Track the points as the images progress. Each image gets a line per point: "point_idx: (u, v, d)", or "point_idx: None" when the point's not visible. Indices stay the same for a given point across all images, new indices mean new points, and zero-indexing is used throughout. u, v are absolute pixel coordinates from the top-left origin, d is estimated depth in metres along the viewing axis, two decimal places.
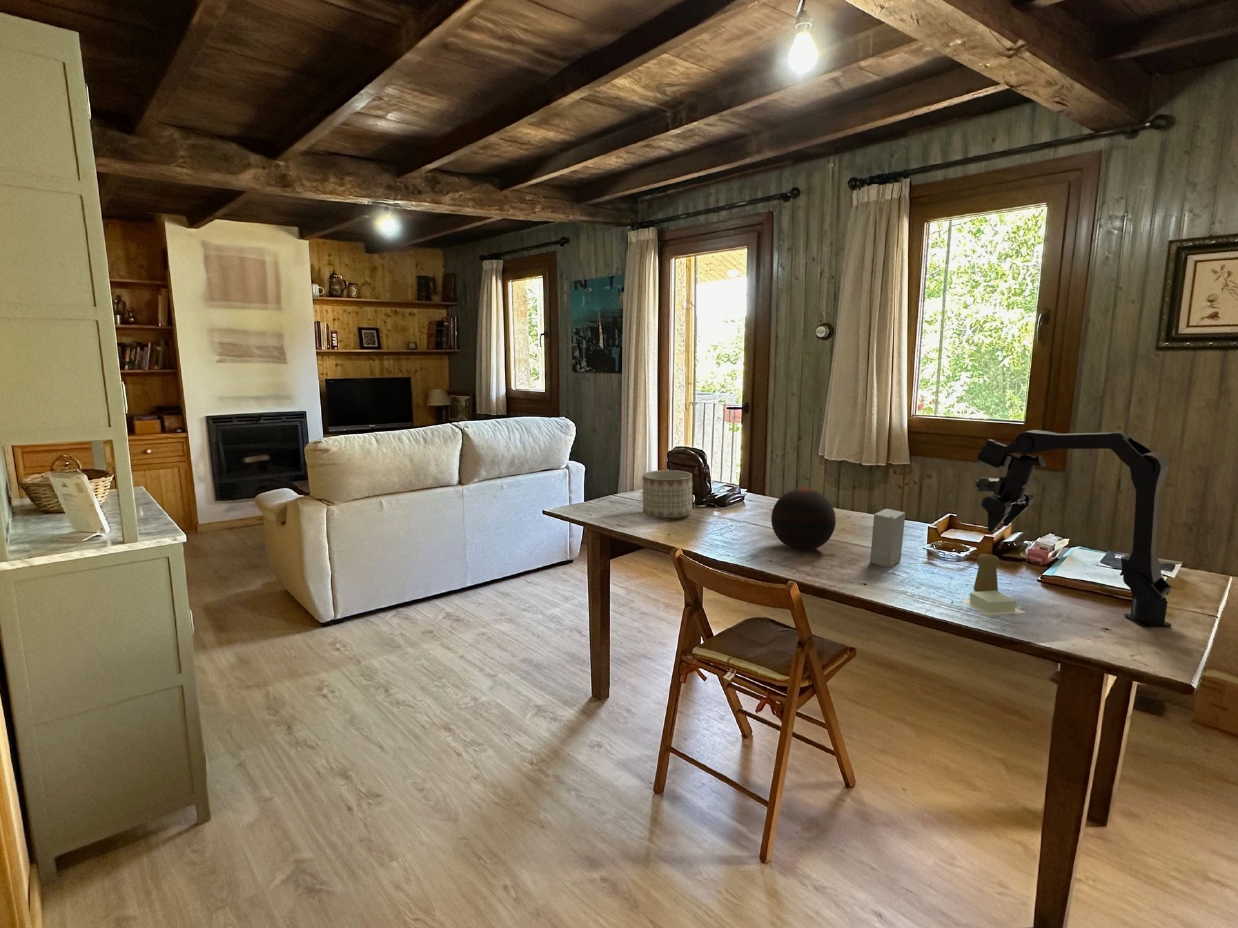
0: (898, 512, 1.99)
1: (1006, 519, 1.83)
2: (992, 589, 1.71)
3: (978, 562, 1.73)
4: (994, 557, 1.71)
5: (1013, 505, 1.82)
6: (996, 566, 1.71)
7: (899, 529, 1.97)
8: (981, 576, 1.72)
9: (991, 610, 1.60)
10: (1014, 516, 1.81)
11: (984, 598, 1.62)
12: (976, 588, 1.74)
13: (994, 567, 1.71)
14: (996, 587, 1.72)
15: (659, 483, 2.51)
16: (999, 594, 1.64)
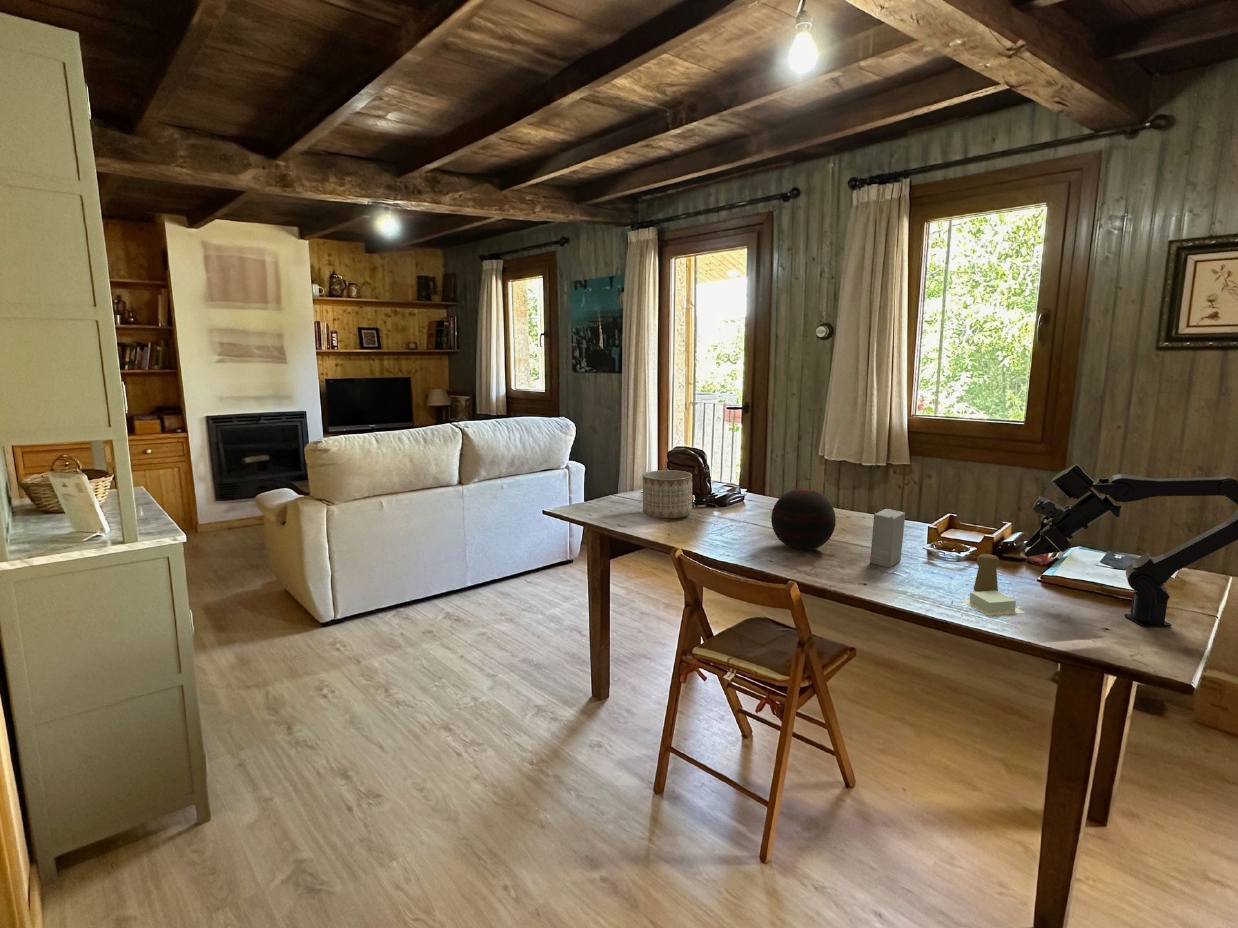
0: (898, 512, 1.99)
1: (1032, 541, 1.71)
2: (992, 589, 1.71)
3: (978, 562, 1.73)
4: (994, 557, 1.71)
5: None
6: (996, 566, 1.71)
7: (899, 529, 1.97)
8: (981, 576, 1.72)
9: (991, 610, 1.60)
10: None
11: (984, 598, 1.62)
12: (976, 588, 1.74)
13: (994, 567, 1.71)
14: (996, 587, 1.72)
15: (659, 483, 2.51)
16: (999, 594, 1.64)
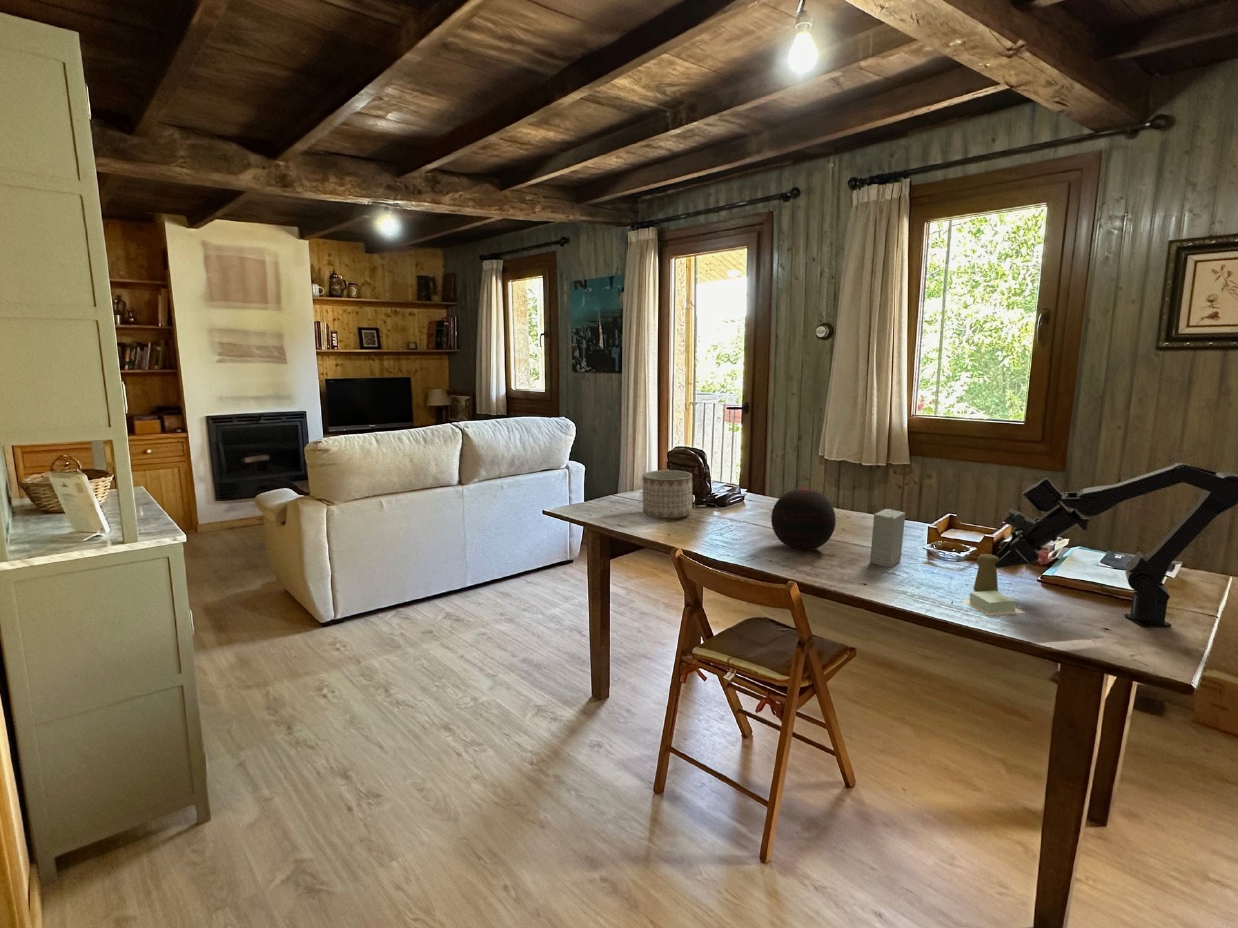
0: (898, 512, 1.99)
1: (1003, 552, 1.75)
2: (992, 589, 1.71)
3: (978, 562, 1.73)
4: (994, 557, 1.71)
5: None
6: None
7: (899, 529, 1.97)
8: (981, 576, 1.72)
9: (991, 610, 1.60)
10: None
11: (984, 598, 1.62)
12: (976, 588, 1.74)
13: (994, 567, 1.71)
14: (996, 587, 1.72)
15: (659, 483, 2.51)
16: (999, 594, 1.64)
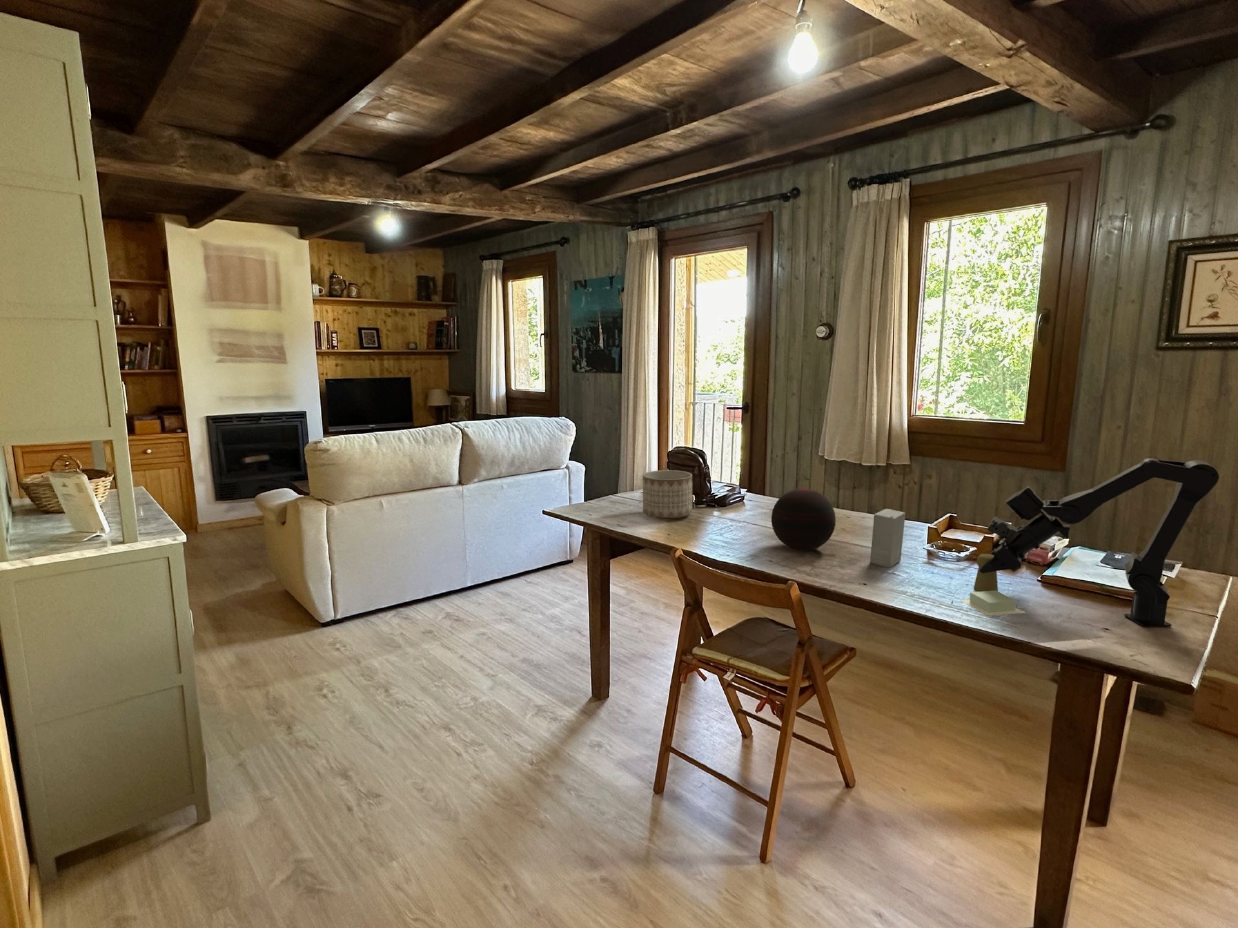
0: (898, 512, 1.99)
1: None
2: (992, 589, 1.71)
3: (978, 562, 1.73)
4: None
5: None
6: None
7: (899, 529, 1.97)
8: (981, 576, 1.72)
9: (991, 610, 1.60)
10: None
11: (984, 598, 1.62)
12: (976, 588, 1.74)
13: None
14: (996, 587, 1.72)
15: (659, 483, 2.51)
16: (999, 594, 1.64)
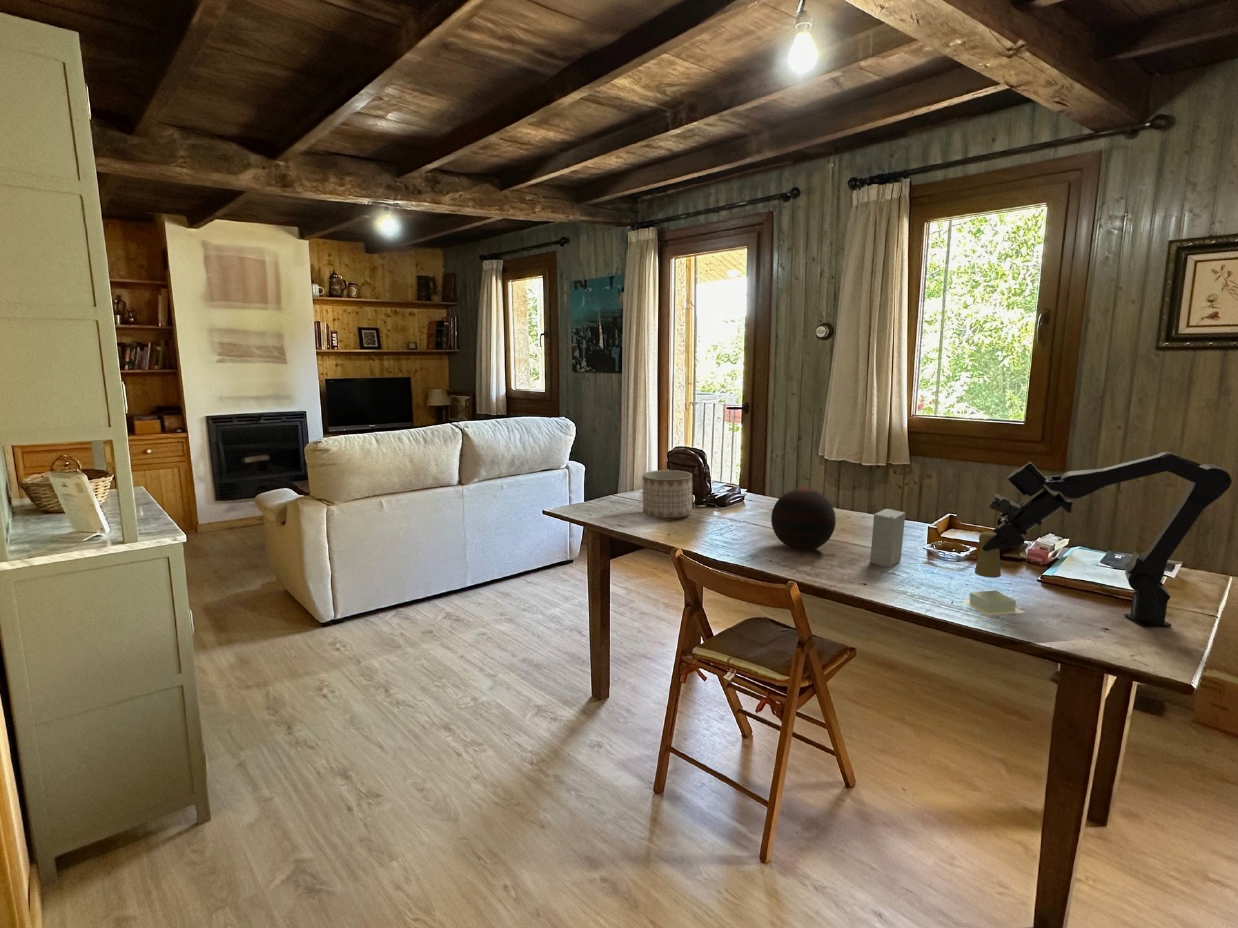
0: (898, 512, 1.99)
1: None
2: (995, 567, 1.70)
3: (980, 540, 1.71)
4: None
5: None
6: None
7: (899, 529, 1.97)
8: (983, 554, 1.71)
9: (991, 610, 1.60)
10: None
11: (984, 598, 1.62)
12: (979, 566, 1.72)
13: None
14: (999, 565, 1.70)
15: (659, 483, 2.51)
16: (999, 594, 1.64)
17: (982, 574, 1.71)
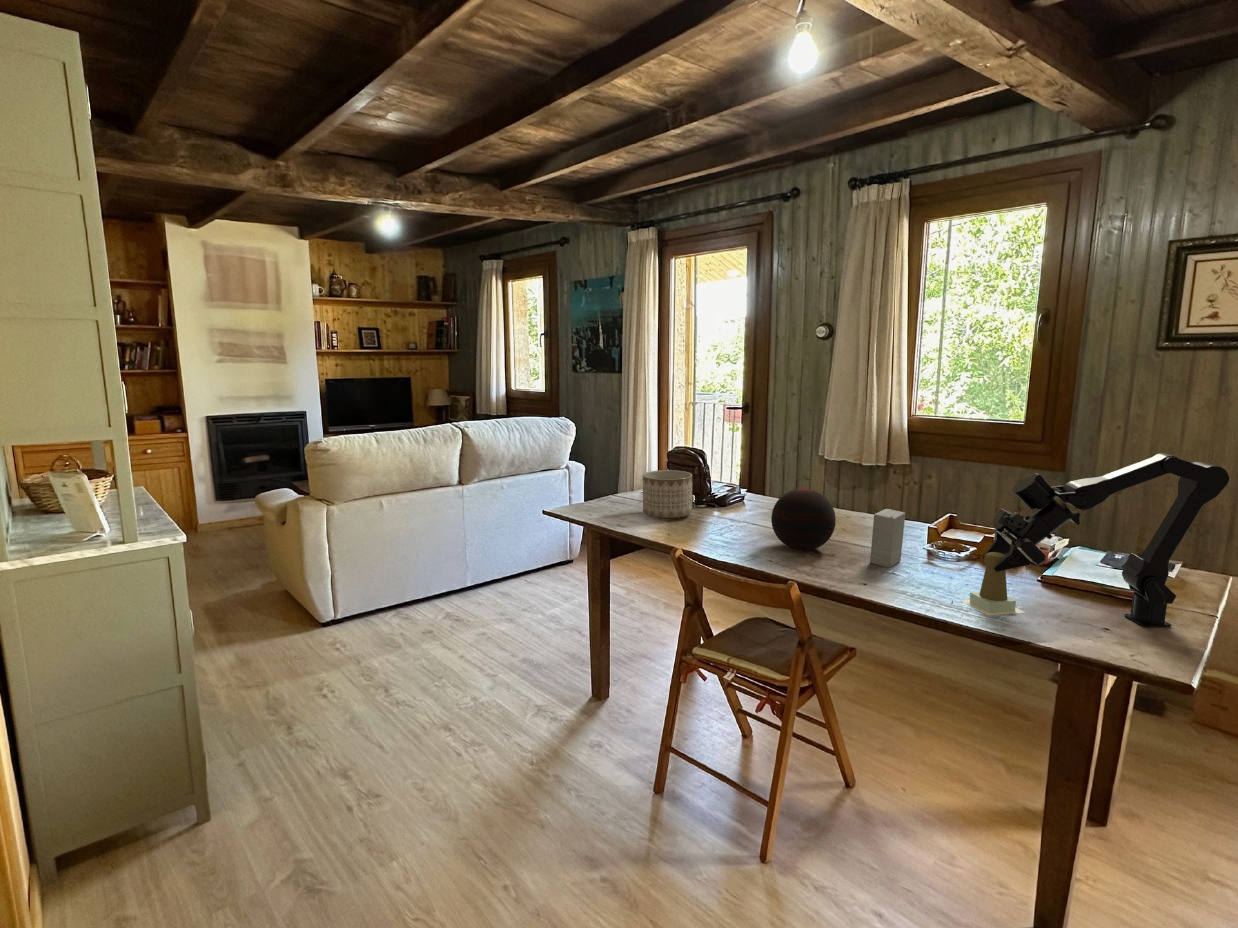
0: (898, 512, 1.99)
1: None
2: (1004, 589, 1.60)
3: (988, 562, 1.61)
4: (1004, 555, 1.60)
5: (1003, 543, 1.65)
6: None
7: (899, 529, 1.97)
8: (992, 576, 1.60)
9: (991, 610, 1.60)
10: None
11: (984, 598, 1.62)
12: (987, 590, 1.61)
13: None
14: (1006, 586, 1.61)
15: (659, 483, 2.51)
16: None
17: (992, 598, 1.61)
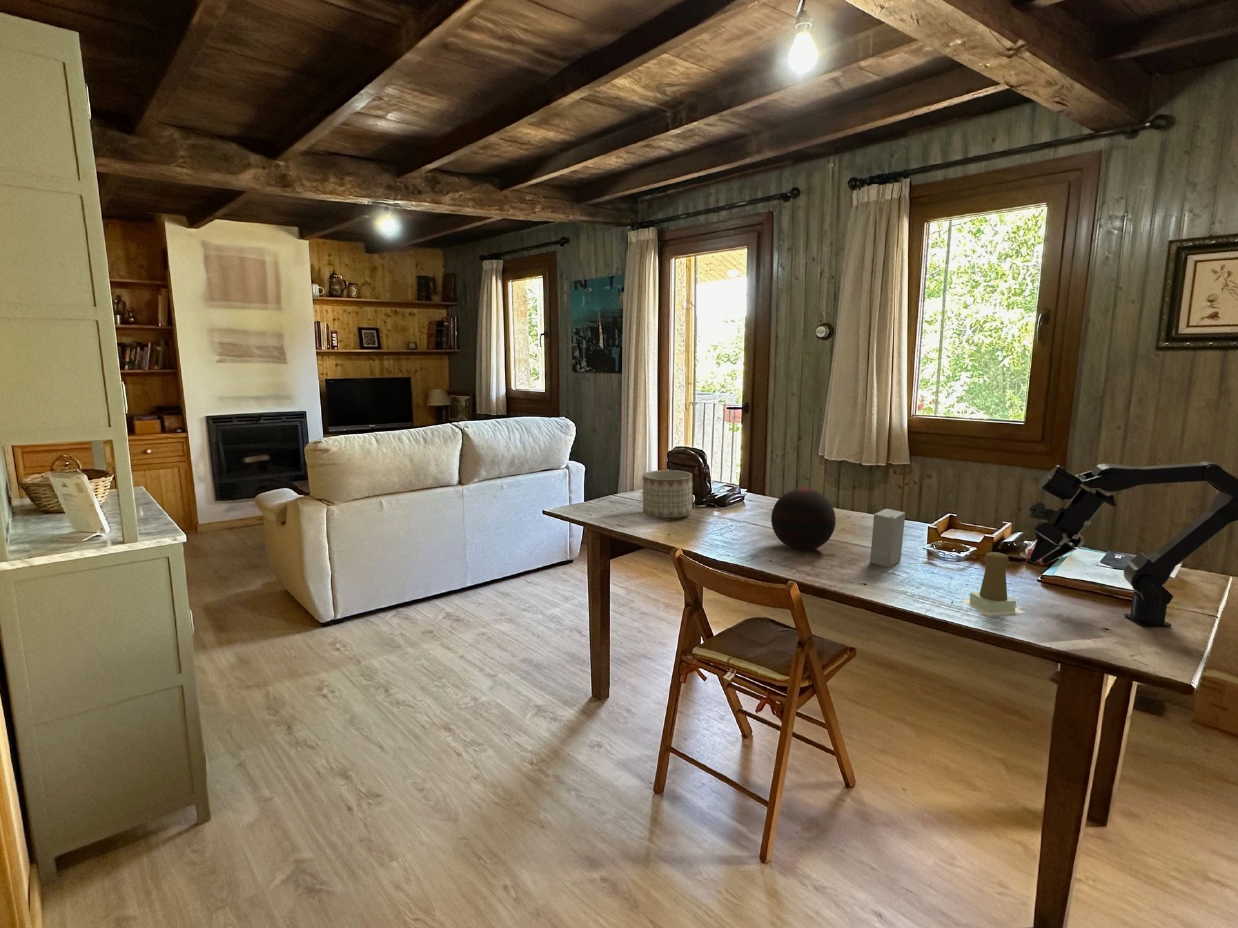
0: (898, 512, 1.99)
1: (1047, 556, 1.66)
2: (1004, 589, 1.60)
3: (988, 562, 1.61)
4: (1004, 555, 1.60)
5: None
6: (1007, 564, 1.60)
7: (899, 529, 1.97)
8: (992, 576, 1.60)
9: (991, 610, 1.60)
10: (1058, 555, 1.65)
11: (984, 598, 1.62)
12: (987, 590, 1.61)
13: (1006, 566, 1.60)
14: (1006, 586, 1.61)
15: (659, 483, 2.51)
16: None
17: (992, 598, 1.61)
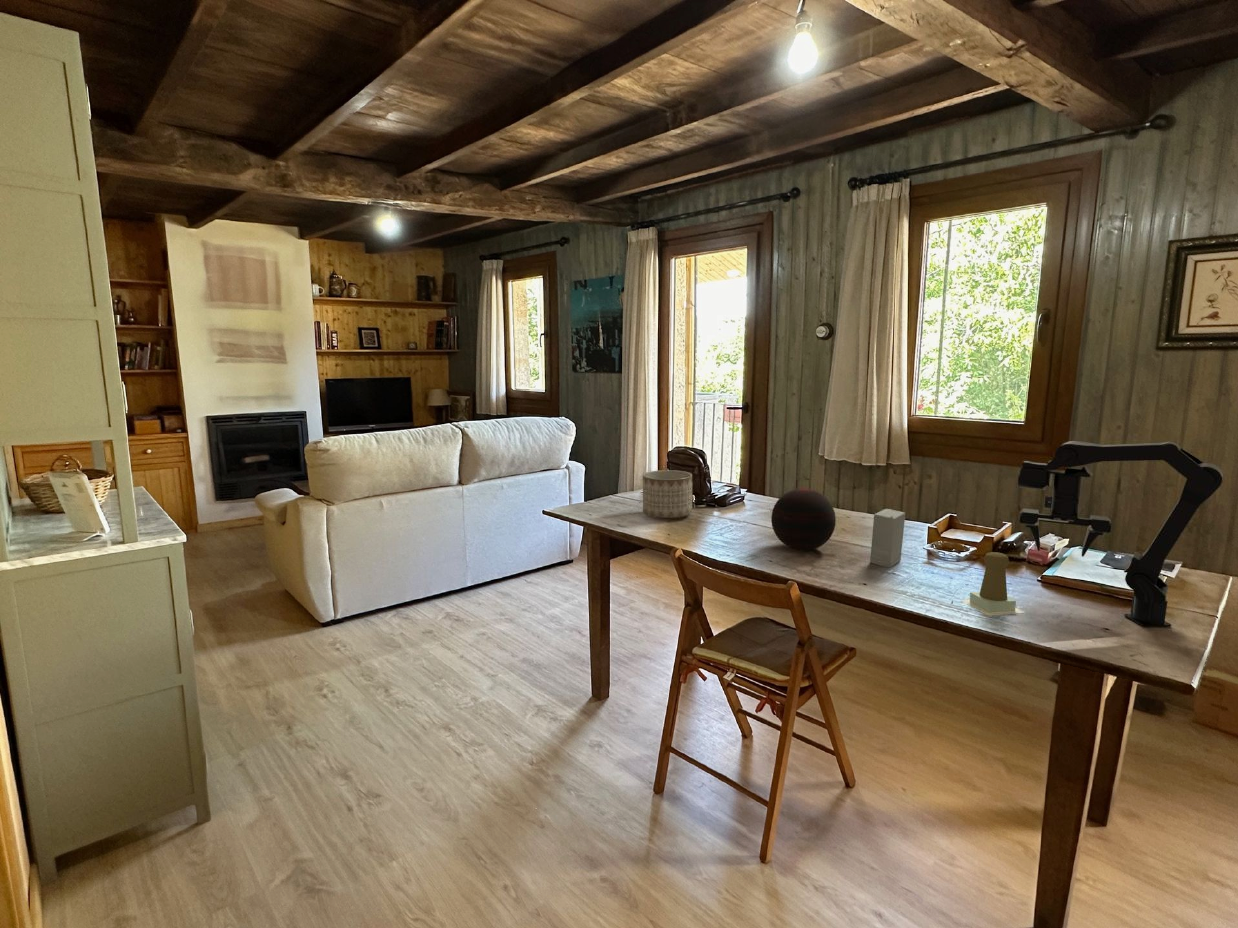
0: (898, 512, 1.99)
1: (1082, 548, 1.64)
2: (1004, 589, 1.60)
3: (988, 562, 1.61)
4: (1004, 555, 1.60)
5: (1087, 532, 1.63)
6: (1007, 564, 1.60)
7: (899, 529, 1.97)
8: (992, 576, 1.60)
9: (991, 610, 1.60)
10: (1084, 543, 1.63)
11: (984, 598, 1.62)
12: (987, 590, 1.61)
13: (1006, 566, 1.60)
14: (1006, 586, 1.61)
15: (659, 483, 2.51)
16: None
17: (992, 598, 1.61)
